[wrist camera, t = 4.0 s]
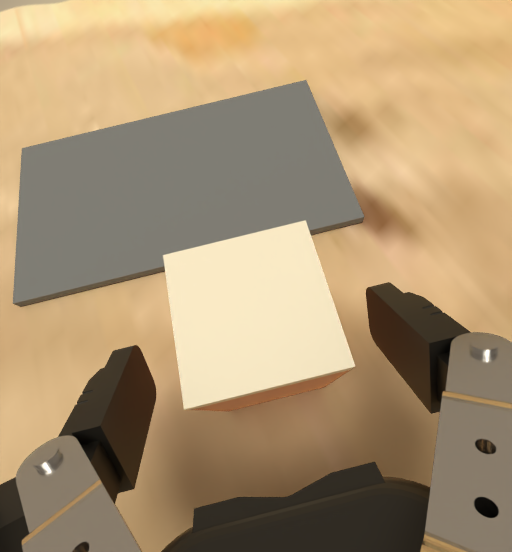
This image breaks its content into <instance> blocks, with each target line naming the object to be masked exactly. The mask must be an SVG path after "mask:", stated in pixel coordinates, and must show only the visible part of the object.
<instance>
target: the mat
mask: <svg viewBox="0 0 512 552" xmlns="http://www.w3.org/2000/svg"><path fill="white" fill-rule="evenodd" d="M363 219H364V215H363V213H362V210H361V208H360V206H359V203H358V201H357V198H356V196H355V194H354V191H353V189H352V187H351V184H350V182H349V180H348V177H347V175H346V173H345V170H344V168H343V166H342V163H341V161H340V159H339V156H338V154H337V151H336V149H335V147H334V144H333V142H332V140H331V137H330V135H329V133H328V130H327V128H326V126H325V123H324V121H323V119H322V116H321V114H320V112H319V109H318V107H317V105H316V102H315V100H314V97H313V95H312V93H311V90H310V88H309V86H308V83H307V81H306V80H304V81H300V82H296V83H292V84H287V85H283V86H279V87H275V88H271V89H267V90H263V91H258V92H254V93H250V94H246V95H242V96H238V97H233V98H229V99H225V100H221V101H217V102H213V103H209V104H204V105H200V106H196V107H192V108H188V109H184V110H179V111H175V112H171V113H167V114H163V115H159V116H154V117H150V118H146V119H142V120H138V121H134V122H130V123H125V124H121V125H117V126H113V127H109V128H105V129H100V130H96V131H92V132H88V133H84V134H80V135H75V136H71V137H67V138H63V139H59V140H55V141H51V142H46V143H42V144H38V145H34V146H30V147H26V148H22V155H21V173H20V190H19V207H18V224H17V241H16V259H15V276H14V293H13V304H15V305H18V306H20V307H21V306H25V305H29V304H33V303H37V302H41V301H45V300H49V299H53V298H57V297H61V296H65V295H70V294H74V293H78V292H82V291H86V290H90V289H94V288H98V287H102V286H106V285H110V284H114V283H118V282H122V281H126V280H130V279H134V278H138V277H142V276H147V275H151V274H155V273H159V272H163V271H165V266H164V259H163V255H166V254H170V253H174V252H178V251H182V250H186V249H190V248H194V247H198V246H202V245H206V244H211V243H215V242H219V241H223V240H227V239H231V238H235V237H239V236H243V235H247V234H251V233H256V232H260V231H264V230H268V229H272V228H276V227H280V226H284V225H288V224H292V223H296V222H301V221H305V220H306V223H307V226H308V229H309V231H310V234H311V235H313V234H317V233H321V232H325V231H329V230H333V229H337V228H341V227H345V226H349V225H353V224H357V223H361V222H363Z"/></svg>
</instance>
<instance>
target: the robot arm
mask: <svg viewBox="0 0 512 552" xmlns="http://www.w3.org/2000/svg"><path fill="white" fill-rule="evenodd" d="M366 299H367V309H368V318H369V327H370V332H371V335H372V338H373V340H374V342H375V343H376V345H377V346H378V347H379V349H380V350H381V351H382V352H383V354H384V355H385V356H386V357H387V359H388V360H389V361H390V363H391V364H392V365H393V366H394V368H395V369H396V370H397V371H398V373H399V374H400V375H401V376H402V378H403V379H404V380H405V381H406V383H407V384H408V385H409V386H410V388H411V389H412V390H413V392H414V393H415V394H416V395H417V397H418V398H419V399H420V400H421V402H422V403H423V404H424V405H425V407H426V408H427V409H428V410H429V412H430V413H431V414H432V413H436V412H439V411H440V416H439V424H438V432H437V440H436V448H435V456H434V464H433V472H432V479H431V487H428V486H425V485H422V484H420V483H417V482H414V481H410V480H405V479H401V478H393V477H382V475H381V473H380V471H379V469H378V467H377V465H376V463H375V462H372V463H368V464H364V465H360V466H357V467H353V468H349V469H345V470H341V471H337V472H333V473H330V474H328V475H327V476H325V477H323V478H321V479H319V480H318V481H316V482H314V483H312V484H311V485H309V486H307V487H305V488H303V489H302V490H300V491H298V492H296V493H294V494H293V495H291V496H288V497H237V498H233V499H229V500H226V501H222V502H218V503H214V504H210V505H206V506H202V507H199V508H195V509H194V518H193V527H191V528H190V529H188V530H186V531H185V532H184V533H182V534H181V535H179V536H178V537H177V538H175V539H174V540H173V541H172V542H171V543H170V544H169V545H167V546H166V547H165V548H164V549H163V550H162V551H161V552H512V342H510V341H509V340H507V339H505V338H503V337H500V336H497V335H494V334H489V333H480V332H472V333H471V332H470V331H468V330H467V329H466V328H464V327H463V326H462V325H460V324H459V323H458V322H456V321H455V320H454V319H452V318H451V317H449V316H448V315H447V314H445V313H442V311H441V310H440V309H439V308H437V307H436V306H434V305H433V304H432V303H431V302H429V301H428V300H427V299H425V298H424V297H422V296H419V295H416V294H413V293H410V292H407V293H403V292H401V291H400V290H399V289H398V288H396V287H395V286H394V285H393V284H391V283H389V282H388V283H384V284H380V285H376V286H372V287H368V288H367V289H366ZM82 393H83V395H81V396H80V398H79V400H78V401H77V405H75V407H74V409H73V411H72V412H71V414H70V416H69V418H68V420H67V422H66V423H65V425H64V427H63V429H62V431H61V433H60V434H59V436H58V437H57V438H54V439H52V440H50V441H48V442H46V443H45V444H43V445H41V446H40V447H39V448H37V449H36V450H35V451H33V452H32V453H31V454H30V455H29V456H28V457H27V458H26V459H25V460H24V462H23V463H22V464H21V466H20V468H19V469H18V471H17V474H16V477H15V478H13V479H11V480H9V481H7V482H5V483H3V484H1V485H0V552H142V550H141V548H140V547H139V545H138V543H137V542H136V540H135V538H134V536H133V535H132V533H131V531H130V529H129V528H128V526H127V524H126V522H125V521H124V519H123V517H122V515H121V514H120V512H119V510H118V509H117V507H116V505H115V501H116V498H117V494H118V493H121V492H124V491H128V490H132V489H134V488H135V483H136V479H137V475H138V471H139V467H140V463H141V459H142V455H143V450H144V446H145V442H146V438H147V434H148V430H149V426H150V422H151V417H152V413H153V409H154V405H155V401H156V387H155V383H154V380H153V378H152V375H151V373H150V370H149V368H148V366H147V363H146V361H145V359H144V356H143V354H142V352H141V350H140V348H139V347H138V346H137V345H134V346H130V347H126V348H122V349H118V350H115V351H113V352H112V354H111V356H110V358H109V360H108V362H107V364H106V366H105V368H102V369H100V370H99V371H98V372H97V373H96V374H95V375H94V376H93V377H92V378H91V379H90V380H89V381H88V383H87V385H86V387H85V389H84V390H83V392H82Z"/></svg>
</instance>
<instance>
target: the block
mask: <svg viewBox="0 0 512 552" xmlns="http://www.w3.org/2000/svg"><path fill="white" fill-rule="evenodd" d="M163 259H164V266H165V274H166V281H167V288H168V296H169V303H170V310H171V318H172V325H173V332H174V340H175V347H176V354H177V362H178V369H179V376H180V384H181V391H182V399H183V406H184V409H185V410H209V411H232V410H236V409H240V408H244V407H248V406H252V405H256V404H259V403H263V402H267V401H271V400H275V399H279V398H283V397H287V396H291V395H295V394H299V393H303V392H307V391H311V390H315V389H319V388H323V387H326V386H327V385H329V384H330V383H332V382H333V381H335V380H336V379H338V378H339V377H341V376H342V375H343V374H345V373H346V372H348V371H349V370H351V369H352V368H354V367H355V364H354V361H353V358H352V355H351V352H350V349H349V346H348V343H347V340H346V337H345V334H344V331H343V328H342V325H341V322H340V320H339V317H338V314H337V311H336V308H335V305H334V302H333V299H332V296H331V293H330V290H329V287H328V284H327V281H326V278H325V276H324V273H323V270H322V267H321V264H320V261H319V258H318V255H317V252H316V249H315V246H314V243H313V240H312V237H311V234H310V231H309V229H308V226H307V223H306V220H305V221H301V222H296V223H292V224H288V225H284V226H280V227H276V228H272V229H268V230H264V231H260V232H256V233H251V234H247V235H243V236H239V237H235V238H231V239H227V240H223V241H219V242H215V243H211V244H206V245H202V246H198V247H194V248H190V249H186V250H182V251H178V252H174V253H170V254H166V255H163Z"/></svg>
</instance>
